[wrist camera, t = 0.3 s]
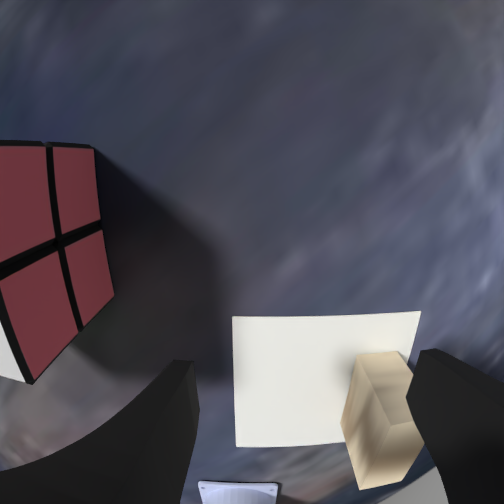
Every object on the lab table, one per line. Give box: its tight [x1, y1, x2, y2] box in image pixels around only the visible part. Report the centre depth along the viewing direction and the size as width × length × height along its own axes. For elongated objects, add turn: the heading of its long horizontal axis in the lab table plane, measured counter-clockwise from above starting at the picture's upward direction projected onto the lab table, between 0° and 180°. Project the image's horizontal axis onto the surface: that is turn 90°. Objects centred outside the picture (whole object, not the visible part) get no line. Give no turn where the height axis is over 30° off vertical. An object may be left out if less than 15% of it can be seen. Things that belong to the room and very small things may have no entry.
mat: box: [232, 311, 421, 447], centre depth 21 cm, size 13×13×1 cm
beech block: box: [340, 351, 424, 490], centre depth 17 cm, size 7×3×7 cm, turn 179°
